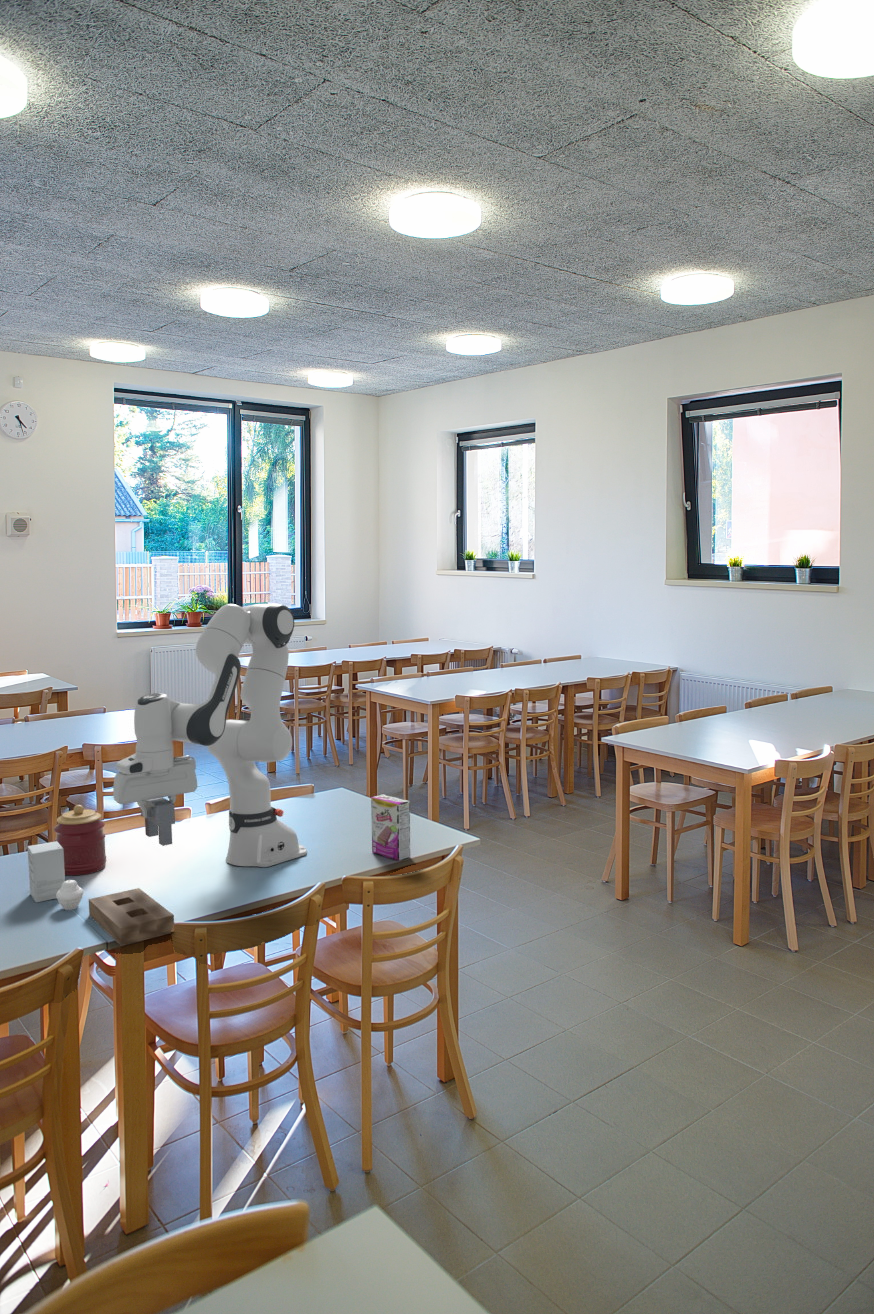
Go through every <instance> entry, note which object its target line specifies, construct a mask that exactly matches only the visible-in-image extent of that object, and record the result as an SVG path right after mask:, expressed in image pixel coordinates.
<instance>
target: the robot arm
mask: <svg viewBox="0 0 874 1314" xmlns="http://www.w3.org/2000/svg"><path fill="white" fill-rule="evenodd" d="M294 629H295V617H294V615H293V612H292V611H291V609H290V608H289V607H288V606H286V605H284V604H281V603H255V604H251V605H245V606H240V605H237V604H234V603H227V604H224V605H222V606H220V608H219V609H218V610H217V611H216V612H215V614H214V615H213V616H212V617H211V618H210V620H209V621H208V623H207V625H206V626H205V627H204V629H203V631H202V633H201V634H200V636H199V638H198V640H197V642H196V646H195V654H196V658H197V660H198V662H199V663H200V664H201V665H202V666H203V667H204V668H205V669H206V670H207V671H209V673H212V674H214V675H215V679H214V682H213V684H212V686H211V690H210V692H209V695H208V699H206V701H204V702H203V703H200V704H195V703H185V702H180V701H176V700H173V699H172V698H170V697H168V695H167V694H166V693H162V692H153V693H147V694H145V695H143V696H141V697H139V698H138V699H137V700H136V702H135V707H134V719H133V721H134V722H133V723H134V727H133V729H134V735H135V737H136V744H135V753H133V754H131V755H129V756H127V757H125V758H123V759H121V760H119V761H117V762H116V764H115V767H116V770H117V771H118V772H117V773H116V774H115V776H114V779H113V787H112V788H113V789H112V790H113V791H112V793H113V794H112V796H113V800H114V801H115V802H116V803H117V804H119V805H126V804H132V803H137V805H138V807H139V808H140V810H141V809H142V813H143V817H142V818H144V819H145V818H148V817H151V810H149V809H146V808H145V806H144V805H146V800H150V799H156V798H161V797H163V798H166V797H167V799H168V801H170V802H172V803H174V804H175V802H176V801H177V796H178V795H184V794H189V793H195V792H196V790H197V788H198V779H197V774H196V768H197V762H196V759H195V758H194V757H192V756H190V755H184V756H174V744H173V742H174V741H178V742H182V743H183V742H184V743H193V744H195V745H200V746H204V747H206V748H207V750H208V752H209V753H210V754H211V755H213V756H214V757H215V758H216V760H217V761H218V762H219V763H220V766H221V768H222V769H223V772H224V773H225V777H226V779H227V782H228V790H229V791H228V792H229V793H228V794H229V805H230V807H229V808H230V809H229V810H228V826H229V843H228V844H229V845H228V849H227V854H226V858H225V862H227V863H228V864H229V865H233V866H239V867H259V868H260V867H261V868H268V867H271V866H275V865H278V864H282V863H285V862H287V861H291V860H294V859H297V858H300V857H303V856H306V855H307V853H308V851H307V849H306V847H305V846H304V845H302V844H300V843H299V839H298V835H297V834H296V833H297V832H296V831H295V830H294V829H293V828H292V827H290V826H288V825H287V824H285V823H284V822H283V821H281V820H279V819H278V818H277V817H279V818H280V817H283V815H284V813H285V812H284V810H283V809H280V808H275V807H273V806H272V805H271V802H272V801H271V783H270V779H269V778H268V777H267V776H266V775H265V774H264V773H263V772H261V770H259V769H258V767H257V765H256V764H255V762H258V763H259V762H260V763H272V762H273V763H274V762H280V761H281V762H282V761H284V760H285V759H286V758H287V757H288V756H289V755H290V752H291V751H292V747H293V737H292V734H291V732H290V730H289V729H288V727H287V726H286V725H285V723H284V722H283V720H282V715H281V709H280V708H281V707H280V706H281V705H280V704H281V699H282V695H283V690H284V686H285V681H286V677H287V672H288V666H289V653H290V652H289V650H290V649H289V648H288V646H287V645H288V643H289V641H290V639H291V637H292V635H293V632H294ZM244 644H249V645H251V648H252V655H250V656H251V657H250V659H249V662H248V665H247V668H246V672H245V676H244V679H243V683H242V686H241V690H240V698H241V701H242V703H243V704H244V705H245V706H246V707H247V708H249V710H250V718H249V720H242V719H240V720H239V719H227V717H228V713H229V709H230V706H231V704H232V700H233V698H234V694H235V691H236V688H237V685H238V682H239V679H240V676H241V670H242V669H241V668H242V667H241V666H242V665H241V661H240V659H239V654H240V652H241V651H242V649H243V647H244Z"/></svg>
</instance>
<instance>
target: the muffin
mask: <svg viewBox="0 0 874 1314" xmlns="http://www.w3.org/2000/svg"><path fill="white" fill-rule="evenodd" d="M83 895H84V889H83V888H82V887H80V886H79V885H78V882H77V881H76V880H74V879H67V880H65V881H64V882H63V883H62V887H61V888H60V890H59V891H58V892H57V894H56V899H57V902H58V903H59V904H60V907H62V909H63V910H64V909H65V910H64V911H73V910H75V909H77V908H78V907H79V905H80V903H81V901H82V899H83ZM72 909H73V910H72Z"/></svg>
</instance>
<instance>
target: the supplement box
mask: <svg viewBox="0 0 874 1314" xmlns="http://www.w3.org/2000/svg"><path fill="white" fill-rule="evenodd" d="M26 848H27V858H28V859H27V862H28V876H29V877H28V878H29V894H30V895H31V897H32V899H33V901H34V902H35V903H41V902H45V901H50V900H55V899H57V898H56V894H57V892H58V891H59V890H60V888H61V887H62V883H63V882H64V881H66V875H65V869H64V851H63V848H62V847H61V845H60V844H59V843H58V842H57V841H55V842H54V841H50V842H44V843H40V844H39V843H37V844H32V845H27V846H26Z"/></svg>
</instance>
